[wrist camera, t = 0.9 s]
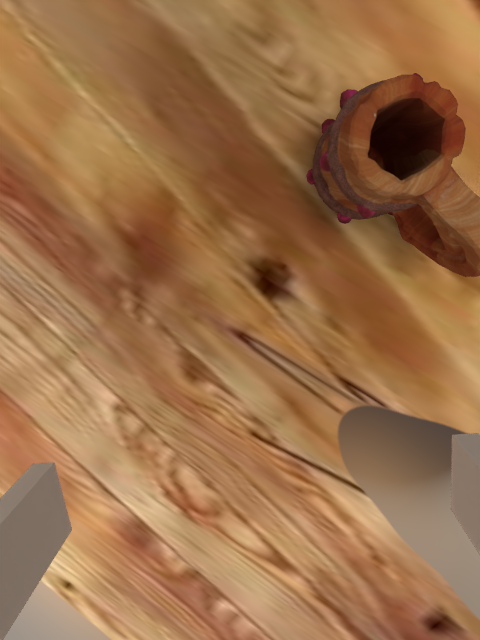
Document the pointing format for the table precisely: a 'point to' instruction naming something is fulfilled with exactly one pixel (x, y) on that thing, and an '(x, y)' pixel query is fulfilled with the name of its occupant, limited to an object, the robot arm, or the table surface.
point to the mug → (402, 168)
